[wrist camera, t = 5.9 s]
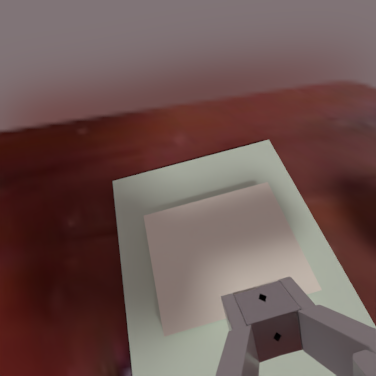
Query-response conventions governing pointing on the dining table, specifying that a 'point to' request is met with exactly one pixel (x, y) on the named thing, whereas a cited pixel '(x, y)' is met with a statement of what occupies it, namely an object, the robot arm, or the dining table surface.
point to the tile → (220, 254)
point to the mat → (217, 331)
